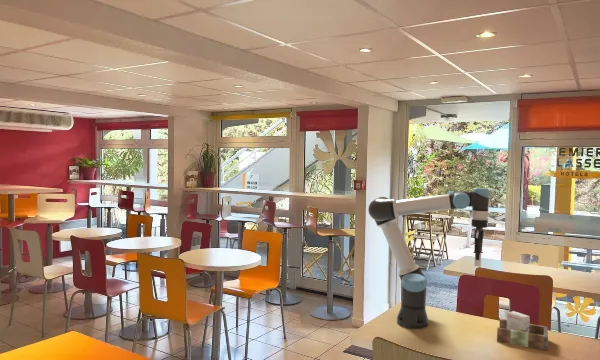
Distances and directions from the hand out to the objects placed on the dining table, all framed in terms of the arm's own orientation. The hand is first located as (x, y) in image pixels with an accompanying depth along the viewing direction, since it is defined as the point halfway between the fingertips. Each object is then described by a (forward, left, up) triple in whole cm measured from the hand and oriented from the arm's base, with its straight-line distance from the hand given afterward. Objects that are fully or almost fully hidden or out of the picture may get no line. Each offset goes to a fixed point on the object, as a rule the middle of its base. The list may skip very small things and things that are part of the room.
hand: (477, 266), depth 231 cm
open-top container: (+21, -14, -29) cm, 38 cm away
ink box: (+20, -14, -29) cm, 38 cm away
